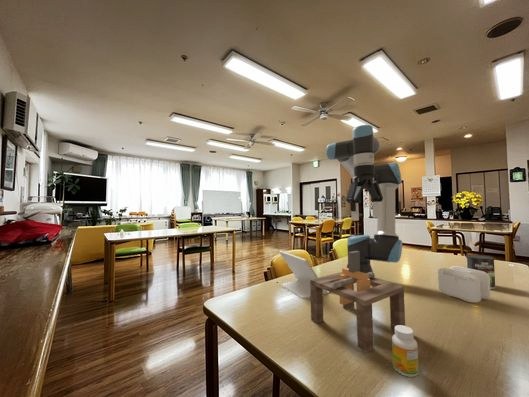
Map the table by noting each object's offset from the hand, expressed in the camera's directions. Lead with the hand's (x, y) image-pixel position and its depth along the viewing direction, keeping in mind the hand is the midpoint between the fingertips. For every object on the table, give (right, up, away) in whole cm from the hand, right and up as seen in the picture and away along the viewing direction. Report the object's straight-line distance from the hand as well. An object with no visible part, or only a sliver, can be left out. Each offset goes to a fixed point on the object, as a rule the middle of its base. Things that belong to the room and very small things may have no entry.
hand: (366, 218), depth 91 cm
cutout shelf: (-10, -35, -13) cm, 38 cm away
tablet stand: (-21, -37, +24) cm, 48 cm away
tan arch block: (-10, -29, -13) cm, 33 cm away
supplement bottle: (-6, -34, -35) cm, 49 cm away
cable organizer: (+46, -35, +8) cm, 58 cm away
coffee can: (+66, -35, +21) cm, 77 cm away
